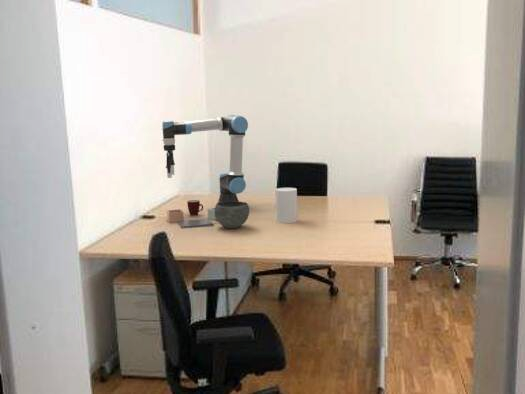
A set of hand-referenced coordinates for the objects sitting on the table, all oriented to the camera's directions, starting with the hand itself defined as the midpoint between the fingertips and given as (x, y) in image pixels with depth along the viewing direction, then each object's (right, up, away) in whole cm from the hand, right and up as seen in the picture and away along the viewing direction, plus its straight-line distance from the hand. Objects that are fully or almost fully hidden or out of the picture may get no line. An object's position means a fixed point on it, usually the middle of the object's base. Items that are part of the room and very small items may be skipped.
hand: (171, 176), depth 388 cm
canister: (+76, -29, -21) cm, 84 cm away
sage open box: (+32, -28, -13) cm, 44 cm away
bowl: (+43, -32, -36) cm, 65 cm away
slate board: (+19, -31, -25) cm, 44 cm away
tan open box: (+6, -30, -17) cm, 35 cm away
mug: (+16, -26, +1) cm, 31 cm away
